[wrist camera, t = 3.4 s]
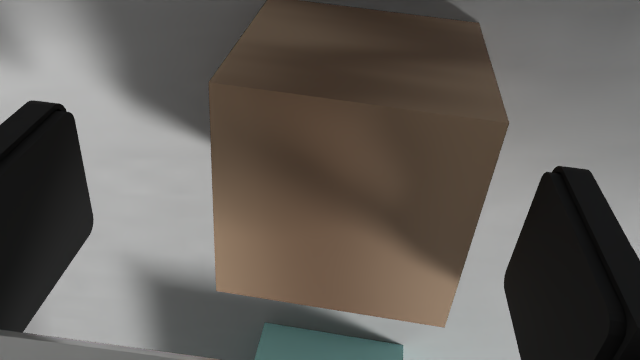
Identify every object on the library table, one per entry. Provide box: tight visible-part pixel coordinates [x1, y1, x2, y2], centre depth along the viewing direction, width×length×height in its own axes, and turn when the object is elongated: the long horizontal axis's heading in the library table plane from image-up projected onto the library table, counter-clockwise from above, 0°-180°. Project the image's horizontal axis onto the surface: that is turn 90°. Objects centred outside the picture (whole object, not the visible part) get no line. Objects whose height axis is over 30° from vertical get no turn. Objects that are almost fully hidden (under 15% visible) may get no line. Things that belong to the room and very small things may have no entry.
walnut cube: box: [209, 0, 509, 327], centre depth 13 cm, size 5×5×5 cm
